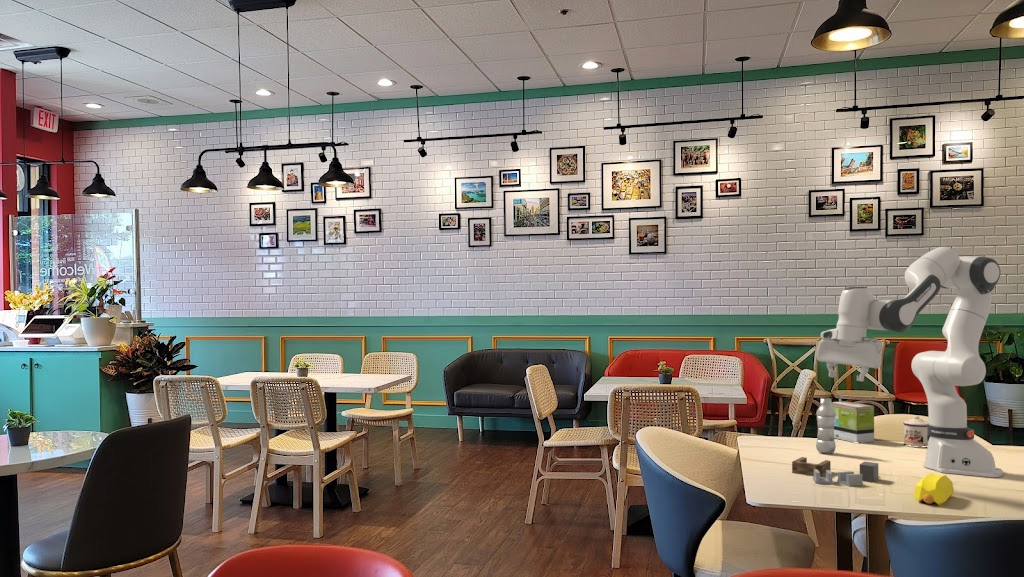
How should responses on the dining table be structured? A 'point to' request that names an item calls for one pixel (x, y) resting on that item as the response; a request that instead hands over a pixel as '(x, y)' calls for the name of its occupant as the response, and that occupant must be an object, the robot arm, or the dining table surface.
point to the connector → (869, 471)
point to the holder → (810, 467)
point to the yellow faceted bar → (934, 489)
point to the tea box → (853, 422)
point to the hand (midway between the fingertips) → (845, 379)
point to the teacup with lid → (915, 432)
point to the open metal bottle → (825, 427)
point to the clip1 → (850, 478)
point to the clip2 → (822, 480)
